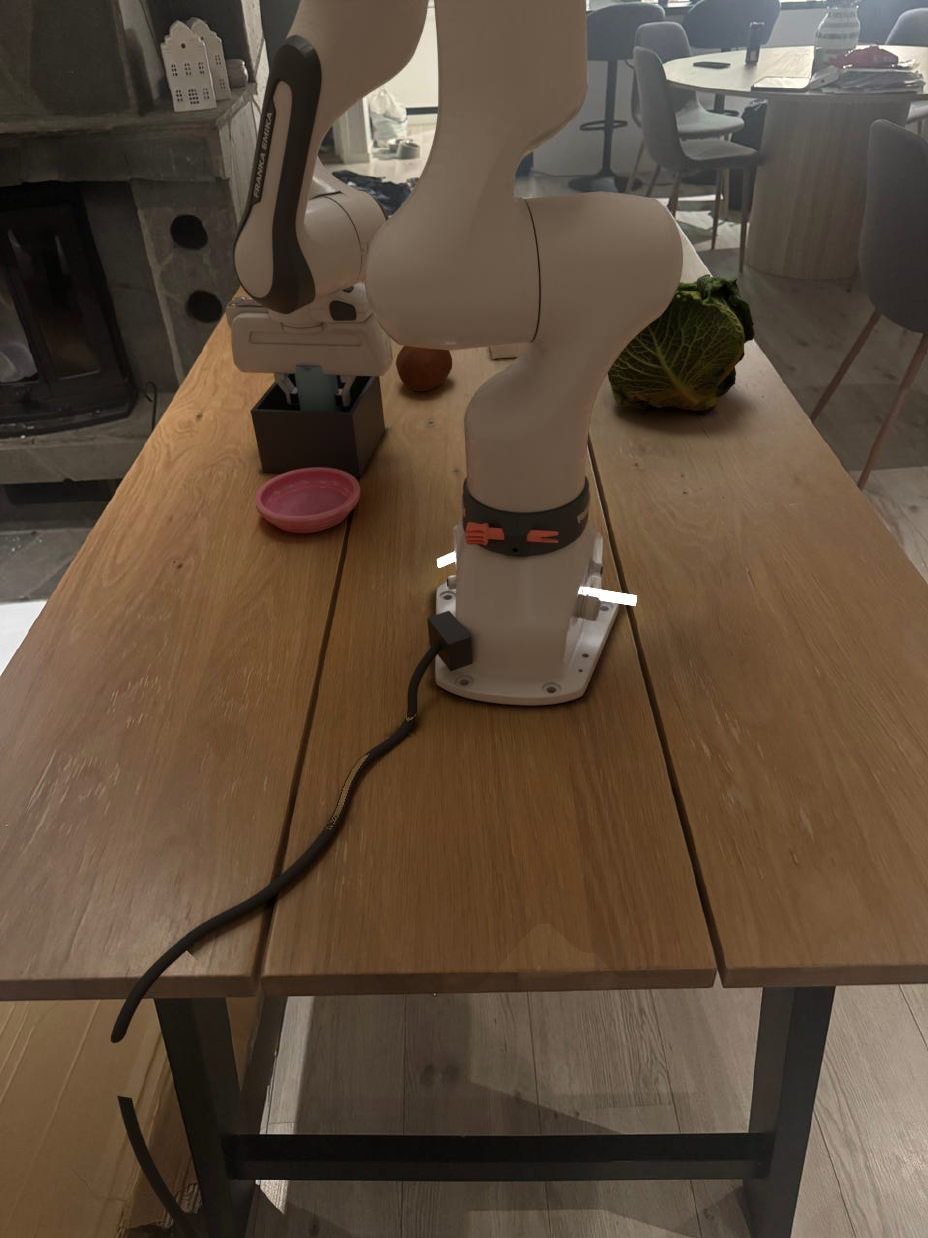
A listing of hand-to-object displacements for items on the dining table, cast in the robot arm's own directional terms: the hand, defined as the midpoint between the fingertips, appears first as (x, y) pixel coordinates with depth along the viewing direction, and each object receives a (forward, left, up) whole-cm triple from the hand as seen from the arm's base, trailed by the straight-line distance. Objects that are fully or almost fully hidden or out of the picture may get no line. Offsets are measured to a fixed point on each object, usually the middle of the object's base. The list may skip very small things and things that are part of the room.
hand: (319, 403), depth 121 cm
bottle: (0, 0, -6) cm, 6 cm away
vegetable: (+19, -45, -7) cm, 49 cm away
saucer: (-16, -3, -7) cm, 18 cm away
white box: (+42, -28, -7) cm, 51 cm away
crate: (0, 0, -7) cm, 7 cm away
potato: (+22, -9, -7) cm, 25 cm away
